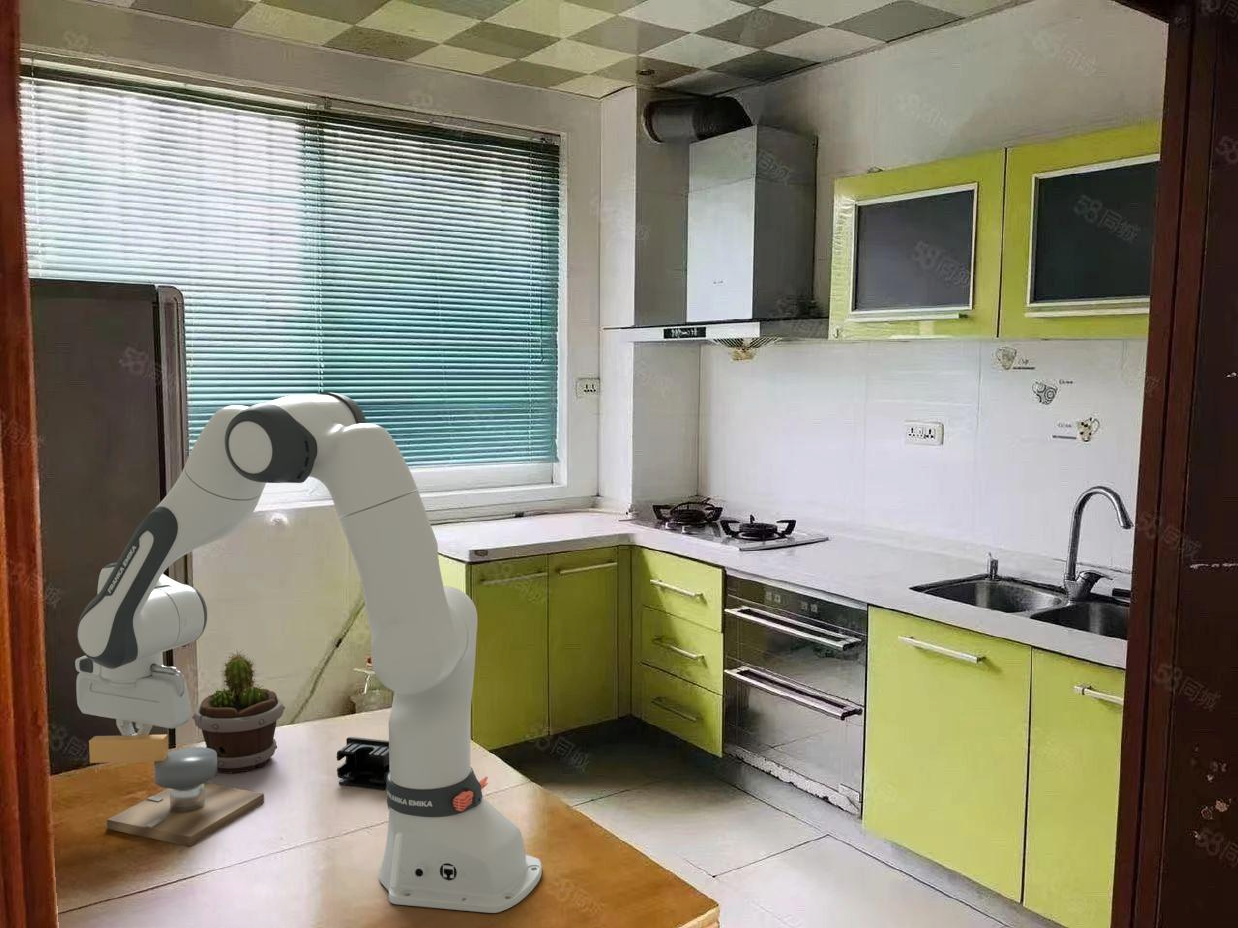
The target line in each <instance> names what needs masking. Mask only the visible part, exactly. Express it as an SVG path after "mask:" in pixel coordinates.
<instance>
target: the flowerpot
mask: <svg viewBox="0 0 1238 928" xmlns="http://www.w3.org/2000/svg"><path fill="white" fill-rule="evenodd" d="M242 651H244V649H241V652H242ZM241 652H240V651H238V650H236V654H235V653H233V652H230V655H228V661H227V663H226V662H223V667H224V669H223V668H221V669H222V670H220V672H221V673H222V674H221V676H222V680H221V683H223V685H222V684H221V687H220V690H219V689H216V690H215V692H214V691H211V692H210V694H209V695H208V696H207V697H205V698H204V699H203V700H202V701H201V703H200V705H199V706H198V707H196V709H195V711H194V714H193V715H191V718H192V719H193V721H194V724H195V727H197V728H198V729H200V730H201V732H202V736H203V740H204V743H205V746H206V747H205V748H210V749H213V750H215V751H216V753H217V772H219V773H223V774H236V773H237V774H238V773H239V772H243V773H245V772H249V771H251V770H252V769H254V768H255V767H259V768H261V767H264V766H265V765H266V764H268V763H269V761H270V760H271V758H272V757H273V756H274V754H275V751H276V750H277V748H278V746H277V741H276V739H275V738H274V736H275V733H276V727H277V722H278V720H280V719H281V717H282V716H283V714H284V710H285V709H286V706H284V704H283V701H282V699H280V698H279V697H278V696H277V693H276V692H275V691H273V690H270V689H267V688H263V685H261V686H260V685H259V684H256V683H255V682H256V678H257V677H256V676H257V675H259V674H258V673H256V666H255V663H254V660H252V659H250V657H248V656H247V655H248V654H241ZM246 656H247V657H246ZM253 667H254V668H253ZM222 686H224V687H223V688H222ZM226 687H227V688H226Z"/></svg>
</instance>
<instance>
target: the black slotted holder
mask: <svg viewBox="0 0 1238 928" xmlns="http://www.w3.org/2000/svg"><path fill="white" fill-rule="evenodd" d="M345 742H346V743H345V744H346V745H345V746H343V747H342V748H341V749H339V750H338V751H337V753H336V761H338V762H340V761H341V760H342V759H343V758H345V761H344V762H343V763H342V764H341V765H339V766H338V767H337V769H336V773H337V774H336V776H337V777H338V779H339V780H338V785H339V786H341V787H342V786H343V787H353V788H361V789H369V790H375V791H386V787H387V775H388V773H389V772H390V771H389V740H382V739H377V738H375V739H374V738H366V737H356V736H355V737H354V736H349V737H347V738H346V740H345Z"/></svg>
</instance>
